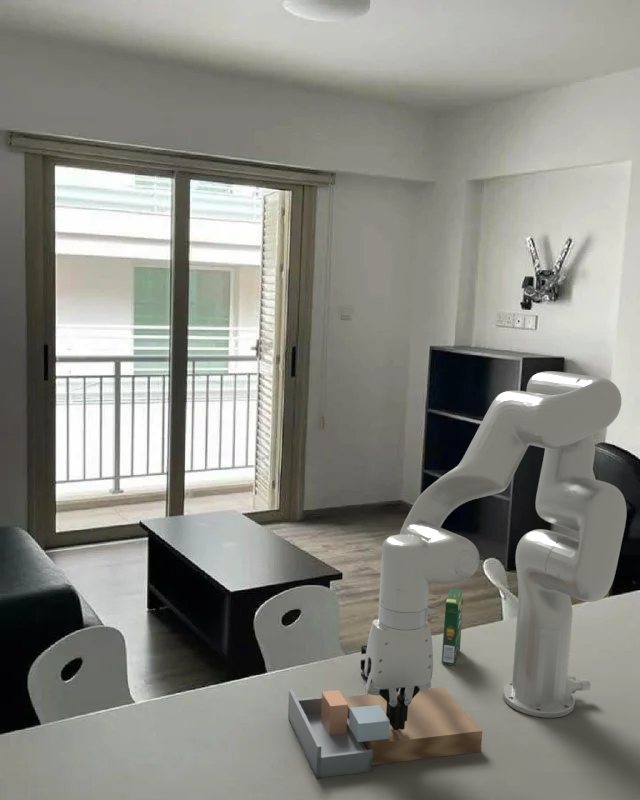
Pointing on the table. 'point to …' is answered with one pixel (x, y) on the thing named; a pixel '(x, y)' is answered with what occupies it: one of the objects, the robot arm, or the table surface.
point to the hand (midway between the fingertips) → (396, 725)
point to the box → (326, 741)
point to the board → (424, 728)
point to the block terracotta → (334, 712)
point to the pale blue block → (369, 723)
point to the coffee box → (452, 626)
